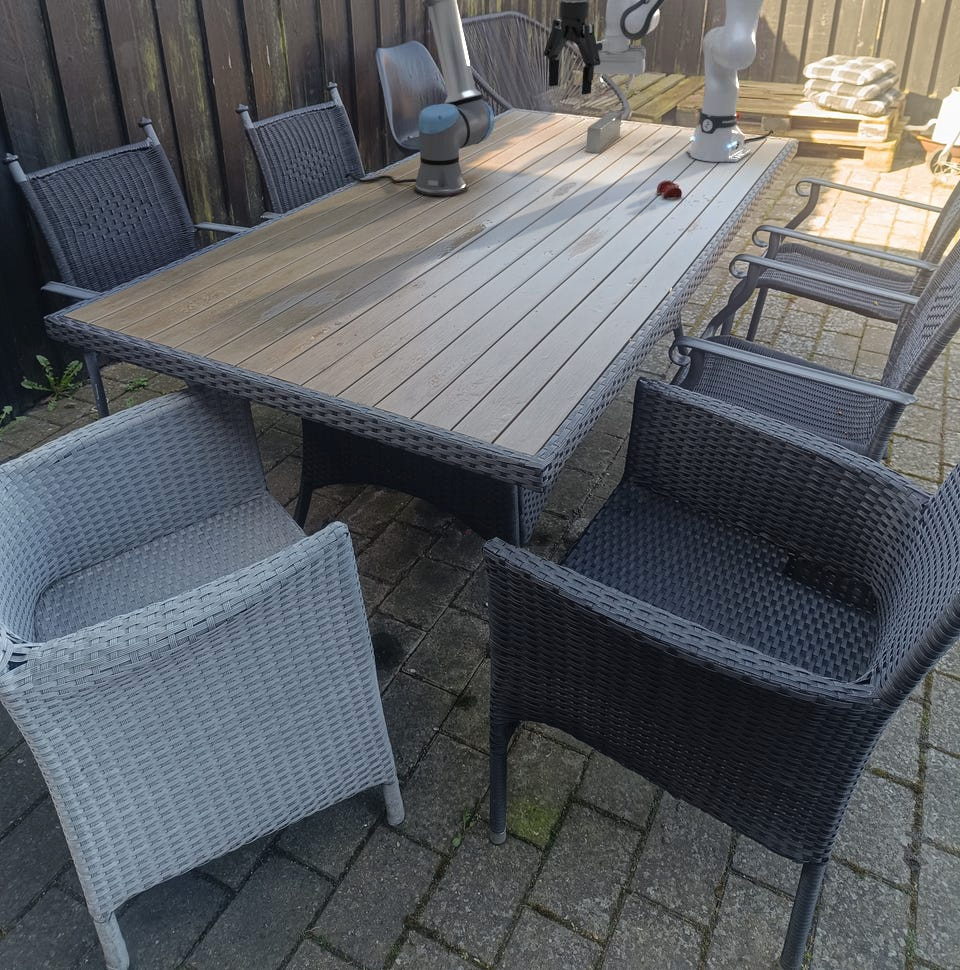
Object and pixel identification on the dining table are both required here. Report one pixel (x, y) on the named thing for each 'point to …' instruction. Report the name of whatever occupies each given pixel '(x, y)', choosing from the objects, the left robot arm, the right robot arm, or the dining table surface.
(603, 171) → the dining table surface
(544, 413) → the dining table surface
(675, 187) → the dental model
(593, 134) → the bar
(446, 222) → the dining table surface
